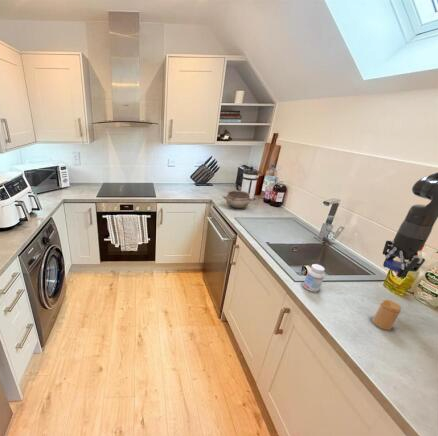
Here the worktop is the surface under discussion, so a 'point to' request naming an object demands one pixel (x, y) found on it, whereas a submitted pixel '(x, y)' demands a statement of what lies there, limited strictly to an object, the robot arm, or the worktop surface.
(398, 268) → the lid
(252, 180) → the coffee press
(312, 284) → the pill bottle
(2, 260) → the worktop surface
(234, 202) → the cooking pot
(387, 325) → the jar
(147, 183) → the worktop surface
